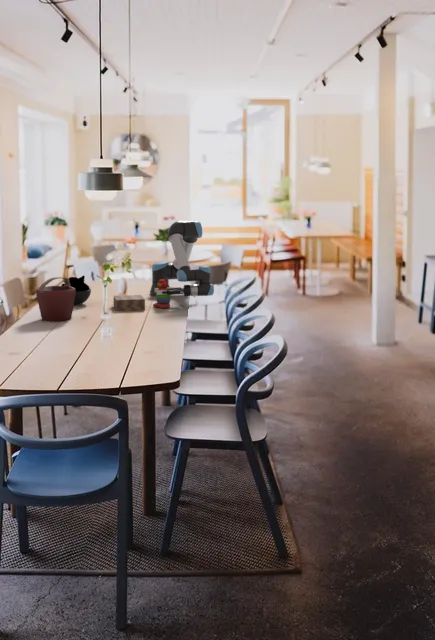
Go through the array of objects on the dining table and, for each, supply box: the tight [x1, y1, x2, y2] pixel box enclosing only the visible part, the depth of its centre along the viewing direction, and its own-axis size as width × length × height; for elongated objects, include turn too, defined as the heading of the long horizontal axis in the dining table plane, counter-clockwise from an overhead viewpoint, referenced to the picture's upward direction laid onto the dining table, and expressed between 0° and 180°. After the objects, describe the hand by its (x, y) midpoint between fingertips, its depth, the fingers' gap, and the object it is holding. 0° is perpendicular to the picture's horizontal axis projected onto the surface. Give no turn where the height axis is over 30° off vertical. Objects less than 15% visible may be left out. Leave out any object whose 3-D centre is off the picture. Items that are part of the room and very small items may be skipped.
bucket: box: [35, 276, 76, 323], centre depth 466 cm, size 24×22×25 cm
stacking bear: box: [152, 279, 171, 309], centre depth 512 cm, size 11×10×18 cm
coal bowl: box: [60, 275, 92, 306], centre depth 519 cm, size 20×20×19 cm
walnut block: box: [113, 294, 146, 312], centre depth 508 cm, size 18×18×7 cm
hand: (155, 291), depth 511 cm, fingers closed on stacking bear, 9 cm apart
